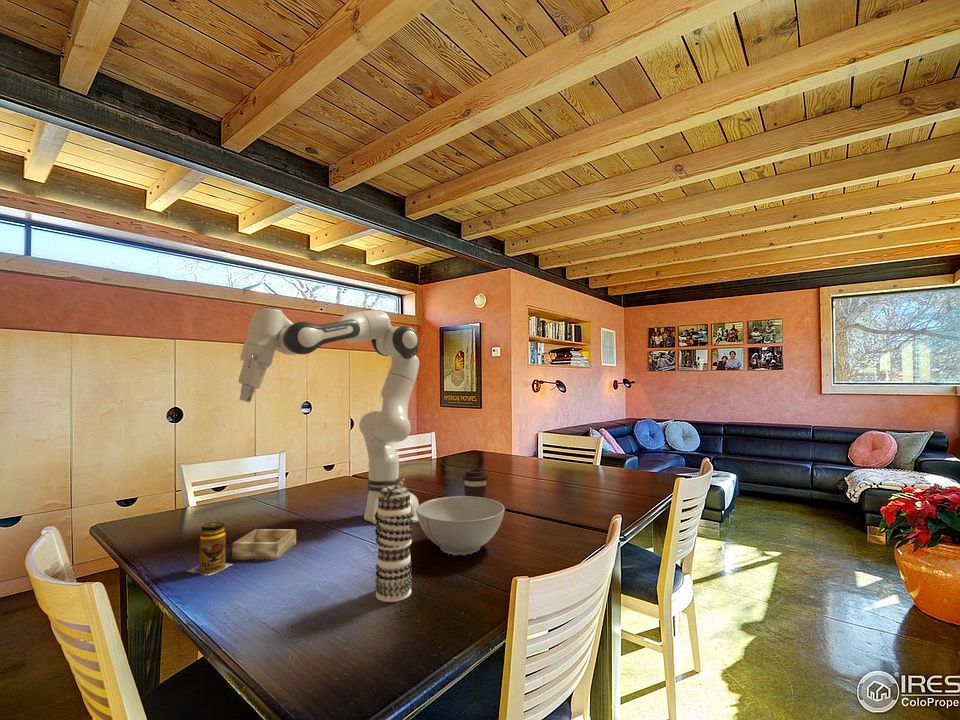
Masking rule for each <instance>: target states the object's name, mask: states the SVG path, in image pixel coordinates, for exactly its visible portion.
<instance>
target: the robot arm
mask: <svg viewBox="0 0 960 720" xmlns="http://www.w3.org/2000/svg"><path fill="white" fill-rule="evenodd" d="M419 338H420V337H419V334H418V332H417V330H415V329H414V328H413V327H410V326H406V325H403V326H393V325H392V323H391V319H390V316H389V315H388V314H387V313H386V312H385V311H383V310H378V309H377V310H375V309H372V310H371V309H369V310H360V311H354V312H350V313H348V314H345V315H342V316H341V317H339V320H338V321H333V322H328V323H322V324H315V323H313V322H307V321H298V322H295V323H293V322H292V321H291V320H290V319H289V318H288V317H286V315H285V314H284V312H283V310H281V309H279V308H276V307H271V306H270V307H268V306H267V307H265V306H264V307H260V308H258V309H256V310H255V311H254V312H253V314H252V317H251V320H250V322H249V326H248V328H247V338H246V339H245V341H244V343H243V345H242V346H243V347H242V349H241V353H240V357H239V360H241V361H243V363H242V367H241V369H240V370H241V371H240V374H239V377H238V383H239V384H241V386H240V387H241V388H240V395H239V400H240V401H244V402H248V403H251V402H252V399H253V396H254V393H255V391H256V390H259V389H260V387H261V385H262V383H263V380H264V378H265V374H266V371H267V368H270V366H271V365H272V363H273V359H274V356H275V352H276V351H277V352H278V353H279V352H280V353H282V354H283V355H288V356H290V355H291V356H293V355H294V356H295V355H308V354H311V353H313V352H314V351H316V350H317V349H318V348H319V347H321V346H323V345H326V344H330V343H333V342H338V341H344V342H346V343H349V344H350V343H351V344H352V343H363V342H367V341H371V346H372V347H373V350H374V352H376V353H377V354H378V355H380V356H385V357H391V365H390V368H389V370H388V373H387V375H386V378H385V380H384V384H383V385H382V388H381V391H380V393H381V394H380V396H381V397H382V408H381V410H375V411H370V412H368V413H365V414H363V415H362V417H361V418H360V419H359V423H358V424H359V426H358V427H359V431H360V433H361V434H362V437H363V438H364V443H365V447H366V450H367V451H366V452H367V458H368V459H367V460H368V479H367V482H366V483H367V484H366V491H367V492H366V493H367V500H366V501H367V502H366V506H365V511H364V516H363V519H364V520H365V521H367V522H370V523H372V524H374V525H375V524H376V521H377V520H375V514H376V512H378V504H379V496H377V494H378V493H379V492H380V491H381V490H382V488H384V487H386V486H390V485H402V486H405V478H401V477H400V473H399V471H400V470H399V469H400V463H399V462H400V460H399V459H400V457H399V455H398V453H397V451H396V450H395V446H394V443H399V442H403V441H405V440H406V439H407V438H408V437H409V435H410V433H411V430H412V429H411V427H412V426H411V422H410V419H409V416H408V413H409V402H410V398H411V396H412V392H413V390H414V386H415V383H416V381H417V377H418V373H419V369H420V359H419V357H418V356H417V355H416V354H417V353H418V351H419V350H418V349H419V343H420V341H419V340H420V339H419ZM410 505H411V513H413V517H411V518H410V519H412V520H413V523H418V522H419V520H418V517H417V513H416V509H417V507H418V506H419V505H420V503H419V499H418V498H417V496H416V495H414V494H413V493H412V492H411V494H410ZM377 516H378V515H377ZM378 517H379V516H378ZM417 521H418V522H417Z"/></svg>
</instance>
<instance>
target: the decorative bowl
mask: <svg viewBox="0 0 960 720" xmlns="http://www.w3.org/2000/svg"><path fill="white" fill-rule="evenodd" d="M505 509H506V508H505V506H504V505H503V504H502V503H501V502H499V501H497V500H495V499H490V498H487V497H486V498H482V497H472V496H465V495H464V496H463V495H460V496H459V495H457V496H456V495H455V496H445V497H439V498H434V499H433V498H432V499H429V500H427V501H424V502H422V503H421V504H420V503H419V506H418V507H417V509H416V513H417V517H418V520H419V521H418V523H419V525H420V527H421V529H422V531H423V532H424V534H425V536H426V537H427V538H428V539H429V540H430V541H431V543H433V544H435V545H436V546H438V547H439V548H440V551H441V550H442V551H443V552H442V551H441V552H442V553H444V552H445V553H444V554H446V553H448V554H447V555H450V554H452V555H451V556H457V555H463V556H468V555H467V554H470V555H473V554H472V553H474V552H476V553H478V552H479V551H481V549H480V548H482V546H485V544H487V543H489V542H490V540H491V539H492V538H493V537H494V536H495V534H496V533H497V531H498V530H499V529H500V526H501V524H502V522H503V519H504V516H505V515H504V514H505V512H506V511H505ZM478 550H479V551H478ZM477 551H478V552H477ZM474 554H475V553H474Z"/></svg>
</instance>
